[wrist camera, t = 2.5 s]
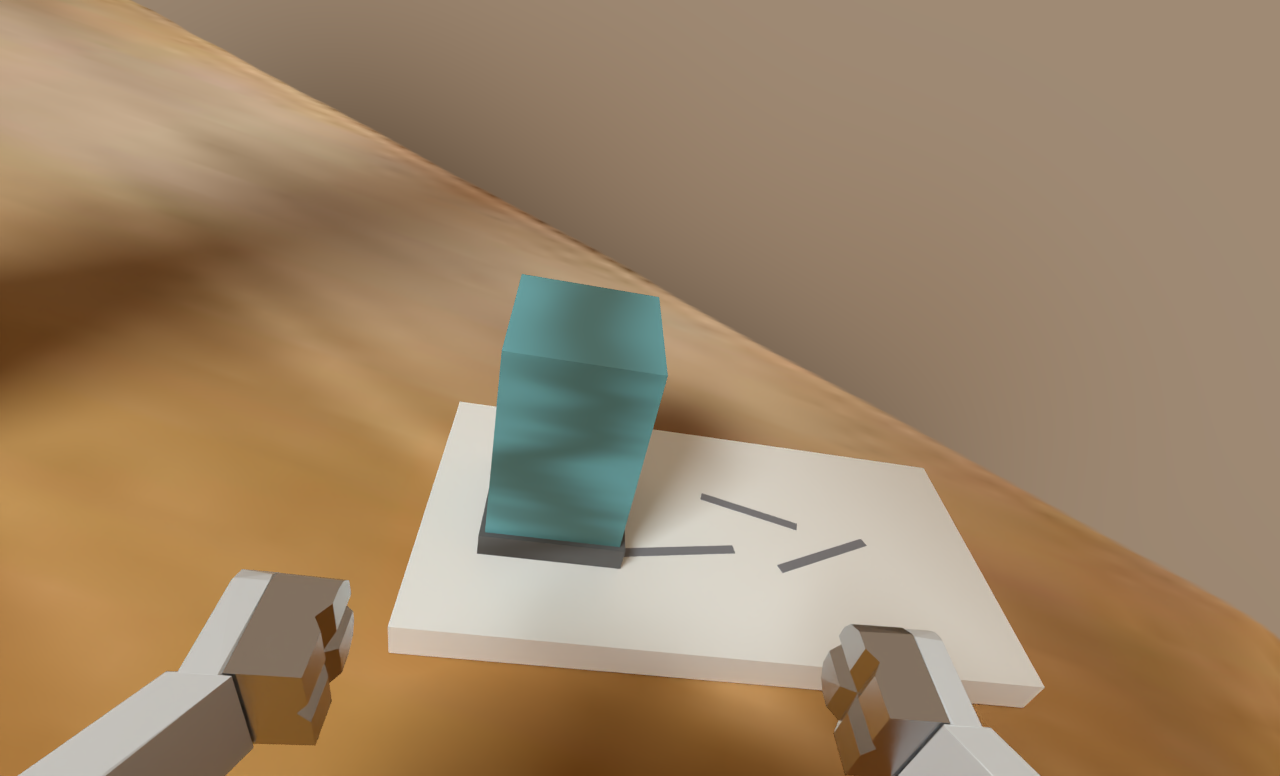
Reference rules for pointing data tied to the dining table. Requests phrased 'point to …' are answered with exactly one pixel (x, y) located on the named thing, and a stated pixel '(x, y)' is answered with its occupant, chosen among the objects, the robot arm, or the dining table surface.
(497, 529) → the block
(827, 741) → the dining table surface
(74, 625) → the dining table surface
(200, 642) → the robot arm
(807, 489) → the board
